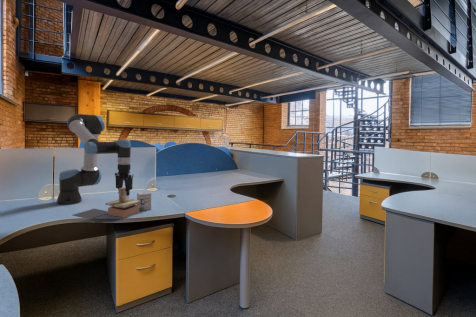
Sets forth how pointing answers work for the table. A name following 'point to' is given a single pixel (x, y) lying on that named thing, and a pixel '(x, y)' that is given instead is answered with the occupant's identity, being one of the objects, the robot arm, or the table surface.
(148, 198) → the ink box
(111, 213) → the reddish brown open box
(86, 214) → the mat
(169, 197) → the table surface
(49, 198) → the table surface
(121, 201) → the light wood slatted piece
